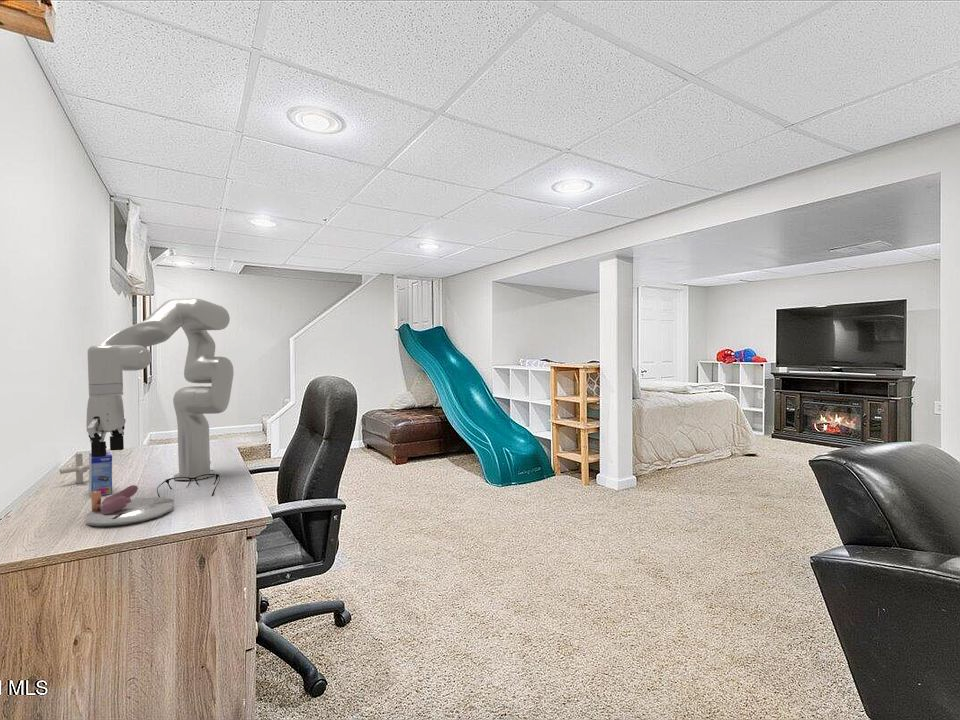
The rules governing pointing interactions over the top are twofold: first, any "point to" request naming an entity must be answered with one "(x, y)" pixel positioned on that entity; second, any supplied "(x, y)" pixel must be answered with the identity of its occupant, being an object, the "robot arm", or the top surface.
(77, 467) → the pipe connector
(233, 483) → the top surface
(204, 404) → the robot arm
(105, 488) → the ink cartridge box
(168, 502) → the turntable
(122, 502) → the video game controller
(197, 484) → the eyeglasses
